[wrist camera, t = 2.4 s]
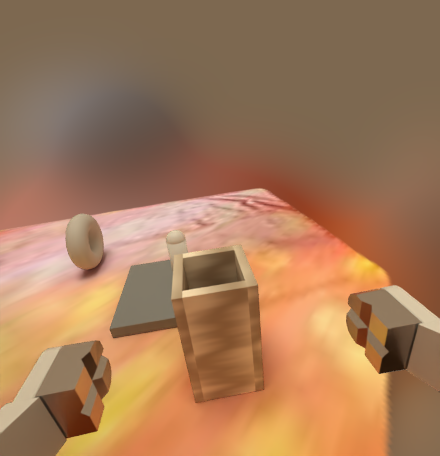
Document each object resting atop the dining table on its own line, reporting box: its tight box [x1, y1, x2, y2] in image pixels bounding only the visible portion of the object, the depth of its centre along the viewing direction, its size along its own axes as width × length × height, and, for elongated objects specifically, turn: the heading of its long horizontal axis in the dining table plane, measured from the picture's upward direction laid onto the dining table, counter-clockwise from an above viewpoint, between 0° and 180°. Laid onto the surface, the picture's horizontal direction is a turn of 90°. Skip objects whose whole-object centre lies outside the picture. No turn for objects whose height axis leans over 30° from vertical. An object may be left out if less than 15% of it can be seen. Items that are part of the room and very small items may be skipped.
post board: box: [110, 230, 188, 338], centre depth 37 cm, size 18×14×10 cm
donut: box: [66, 214, 104, 270], centre depth 47 cm, size 10×4×10 cm, turn 8°
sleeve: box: [171, 245, 264, 403], centre depth 24 cm, size 6×6×12 cm
